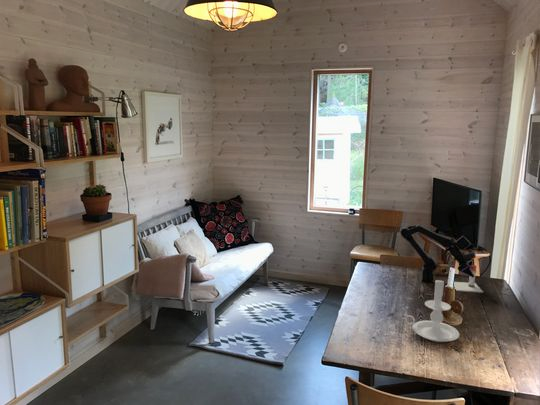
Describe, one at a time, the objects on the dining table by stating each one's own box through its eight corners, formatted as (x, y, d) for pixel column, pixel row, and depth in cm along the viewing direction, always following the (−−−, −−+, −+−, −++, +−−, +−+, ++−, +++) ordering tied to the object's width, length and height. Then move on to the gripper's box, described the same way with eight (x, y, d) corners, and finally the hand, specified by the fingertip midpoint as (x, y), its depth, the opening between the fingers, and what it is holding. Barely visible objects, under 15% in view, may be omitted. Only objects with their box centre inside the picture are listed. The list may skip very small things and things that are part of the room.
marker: (469, 287, 265) (471, 266, 263) (467, 284, 269) (469, 264, 266) (475, 287, 265) (477, 266, 262) (473, 285, 268) (475, 265, 266)
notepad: (453, 291, 260) (453, 290, 260) (447, 282, 275) (447, 281, 275) (483, 292, 258) (483, 291, 258) (475, 283, 272) (475, 282, 272)
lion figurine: (429, 273, 290) (431, 260, 288) (429, 271, 295) (430, 258, 293) (453, 276, 286) (454, 263, 284) (453, 273, 290) (454, 260, 289)
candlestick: (404, 322, 218) (408, 268, 213) (457, 330, 210) (463, 275, 205) (401, 340, 199) (405, 282, 194) (459, 351, 191) (465, 290, 186)
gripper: (465, 250, 257) (484, 271, 253) (470, 243, 272) (488, 263, 268) (450, 260, 262) (468, 281, 258) (455, 253, 278) (473, 273, 274)
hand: (474, 274), depth 265 cm, fingers open, 9 cm apart
